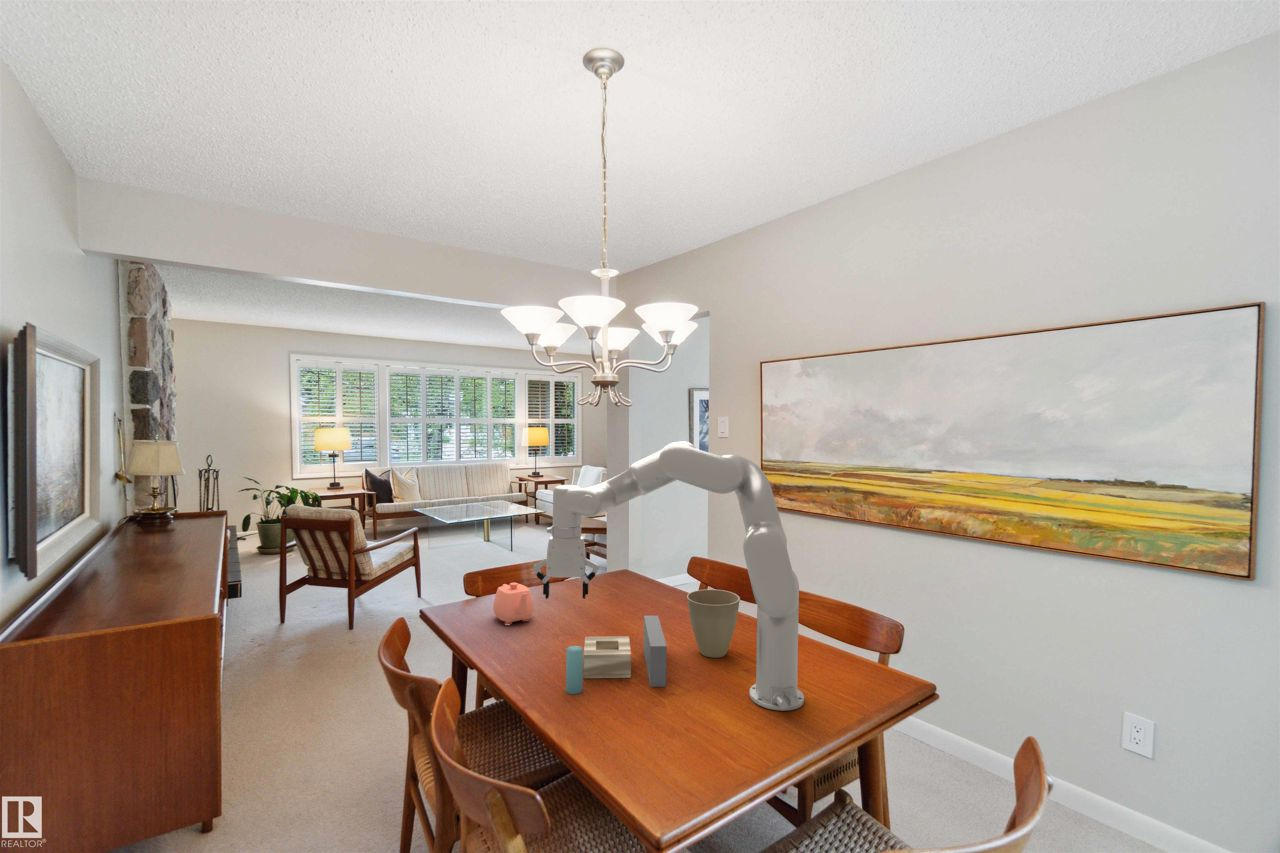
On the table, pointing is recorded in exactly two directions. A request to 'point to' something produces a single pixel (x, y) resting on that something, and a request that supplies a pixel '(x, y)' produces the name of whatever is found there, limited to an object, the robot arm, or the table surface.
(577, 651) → the dowel
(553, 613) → the table surface
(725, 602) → the plant pot
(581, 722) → the table surface
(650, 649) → the rail
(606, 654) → the socket block
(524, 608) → the teapot
